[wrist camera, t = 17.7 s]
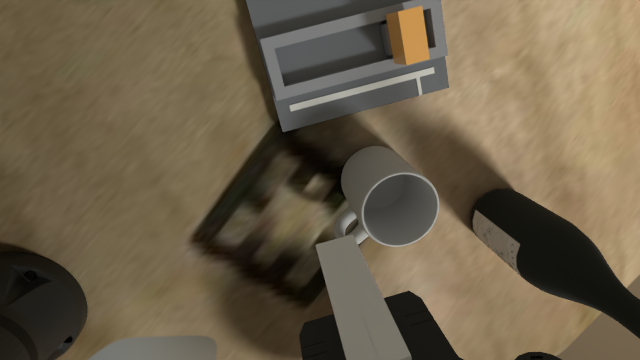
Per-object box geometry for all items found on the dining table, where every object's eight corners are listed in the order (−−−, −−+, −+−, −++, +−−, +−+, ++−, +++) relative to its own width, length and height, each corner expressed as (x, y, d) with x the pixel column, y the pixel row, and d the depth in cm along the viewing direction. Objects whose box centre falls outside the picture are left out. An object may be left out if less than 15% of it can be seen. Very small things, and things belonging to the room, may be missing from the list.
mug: (376, 130, 50) (405, 153, 40) (418, 176, 53) (456, 208, 43) (306, 197, 52) (318, 236, 42) (351, 239, 55) (372, 284, 44)
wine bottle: (486, 250, 58) (699, 445, 30) (456, 213, 56) (657, 388, 27) (532, 213, 57) (796, 379, 29) (503, 174, 55) (762, 313, 26)
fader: (386, 63, 46) (403, 66, 40) (378, 16, 44) (394, 12, 39) (412, 56, 46) (432, 58, 41) (404, 9, 44) (425, 4, 39)
